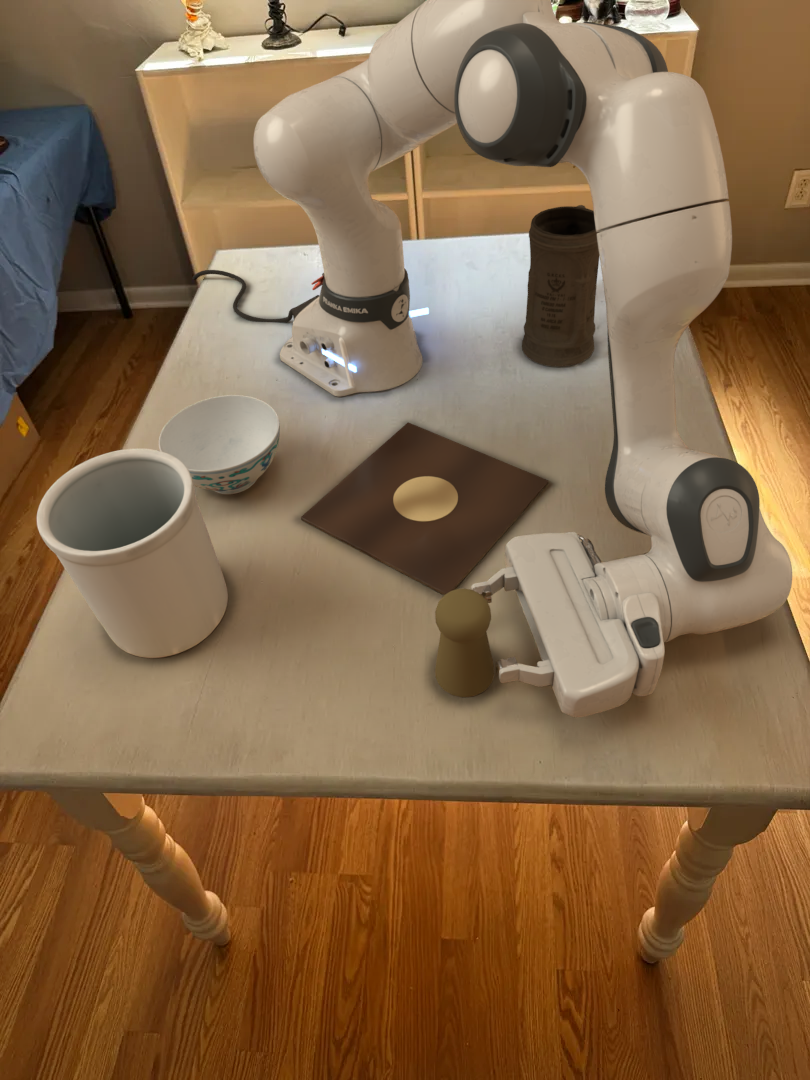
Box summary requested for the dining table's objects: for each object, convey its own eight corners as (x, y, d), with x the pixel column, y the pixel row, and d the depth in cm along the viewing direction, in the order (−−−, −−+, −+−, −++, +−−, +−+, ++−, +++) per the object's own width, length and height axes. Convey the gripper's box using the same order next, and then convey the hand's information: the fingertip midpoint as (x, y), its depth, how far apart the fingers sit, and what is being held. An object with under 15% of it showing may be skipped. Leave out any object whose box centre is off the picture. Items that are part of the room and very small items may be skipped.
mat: (301, 520, 96) (300, 516, 96) (408, 424, 108) (407, 421, 107) (447, 597, 86) (447, 593, 86) (548, 483, 98) (549, 479, 97)
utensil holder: (208, 672, 82) (157, 560, 69) (77, 657, 84) (6, 547, 71) (250, 566, 92) (213, 451, 79) (132, 556, 94) (78, 443, 81)
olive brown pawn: (453, 707, 77) (450, 640, 69) (424, 662, 81) (417, 594, 73) (506, 680, 78) (508, 612, 70) (474, 638, 82) (474, 569, 74)
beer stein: (592, 372, 113) (609, 234, 99) (517, 368, 115) (524, 232, 101) (595, 322, 124) (611, 191, 110) (527, 319, 126) (534, 190, 112)
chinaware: (305, 445, 106) (295, 399, 101) (267, 523, 96) (254, 476, 91) (203, 436, 109) (188, 390, 104) (156, 510, 99) (137, 464, 94)
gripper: (588, 509, 81) (458, 533, 80) (671, 670, 67) (515, 702, 66) (582, 550, 86) (459, 574, 85) (659, 709, 72) (513, 740, 71)
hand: (484, 631), depth 75 cm, fingers open, 8 cm apart
